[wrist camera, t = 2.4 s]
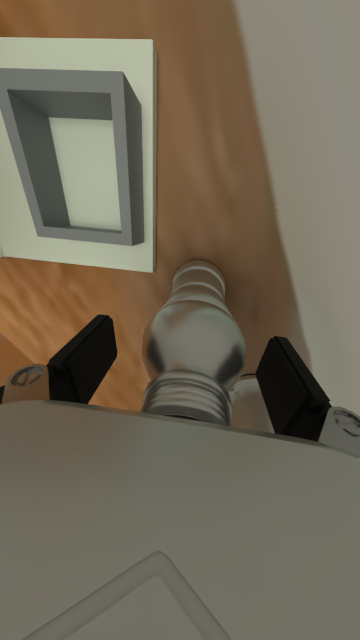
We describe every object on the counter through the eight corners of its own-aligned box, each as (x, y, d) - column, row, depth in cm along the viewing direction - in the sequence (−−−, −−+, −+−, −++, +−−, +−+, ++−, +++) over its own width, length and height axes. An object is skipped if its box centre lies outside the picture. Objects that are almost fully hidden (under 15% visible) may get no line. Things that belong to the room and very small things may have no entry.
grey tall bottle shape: (195, 245, 22) (154, 336, 4) (234, 279, 23) (324, 454, 6) (165, 284, 25) (68, 433, 7) (201, 312, 26) (195, 495, 9)
